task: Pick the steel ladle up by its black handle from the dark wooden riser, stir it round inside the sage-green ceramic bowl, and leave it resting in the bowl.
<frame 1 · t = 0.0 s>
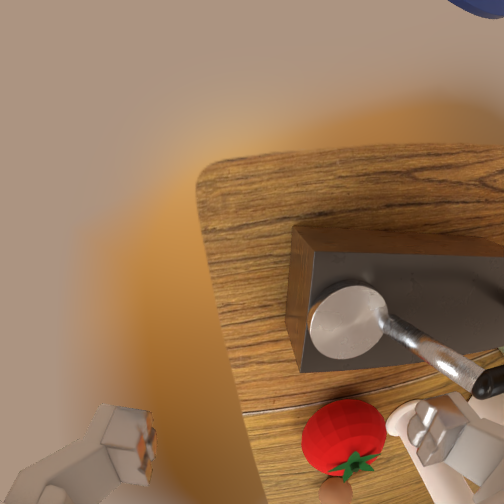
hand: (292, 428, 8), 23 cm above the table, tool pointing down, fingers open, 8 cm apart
beverage can: (480, 396, 39), on the table
candle: (406, 416, 38), on the table
riser: (397, 277, 32), on the table
tomato: (334, 412, 37), on the table
ladle: (345, 317, 23), point 9 cm above the table, touching riser
egg: (331, 478, 42), on the table
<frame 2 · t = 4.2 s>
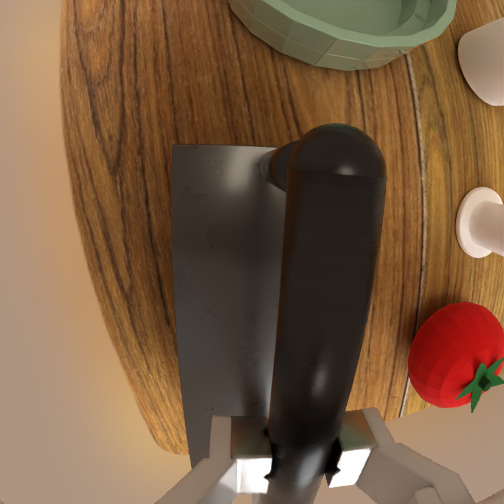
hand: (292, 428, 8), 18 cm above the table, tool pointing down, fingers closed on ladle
beverage can: (481, 69, 22), on the table
candle: (478, 221, 26), on the table
riser: (255, 301, 27), on the table
tomato: (433, 332, 29), on the table
ladle: (256, 455, 20), point 9 cm above the table, touching gripper, riser
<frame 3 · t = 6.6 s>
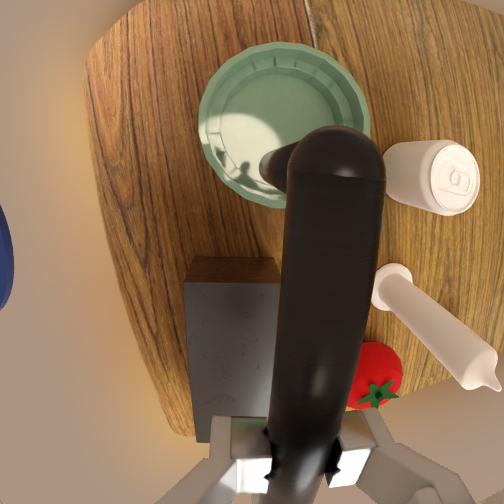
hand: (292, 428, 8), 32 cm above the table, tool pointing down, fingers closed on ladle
beverage can: (402, 172, 39), on the table
candle: (389, 285, 43), on the table
riser: (232, 340, 44), on the table
bowl: (279, 128, 36), on the table
tomato: (357, 358, 46), on the table
ladle: (255, 455, 20), point 23 cm above the table, touching gripper
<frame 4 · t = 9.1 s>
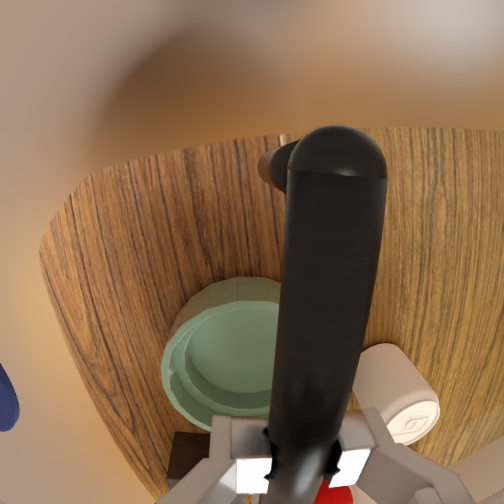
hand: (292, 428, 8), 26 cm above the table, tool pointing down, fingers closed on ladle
beverage can: (374, 365, 39), on the table
candle: (349, 442, 43), on the table
riser: (212, 476, 44), on the table
bowl: (247, 345, 36), on the table
tomato: (318, 483, 46), on the table
ladle: (254, 455, 20), point 17 cm above the table, touching gripper
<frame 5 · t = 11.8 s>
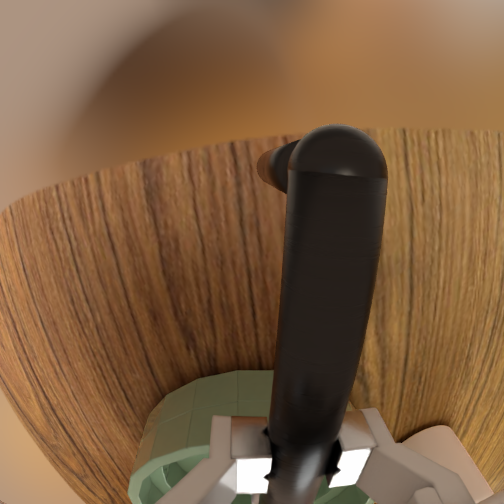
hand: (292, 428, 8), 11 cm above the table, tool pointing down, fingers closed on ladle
beverage can: (416, 447, 25), on the table
bowl: (253, 444, 23), on the table
ladle: (254, 455, 20), point 2 cm above the table, touching gripper
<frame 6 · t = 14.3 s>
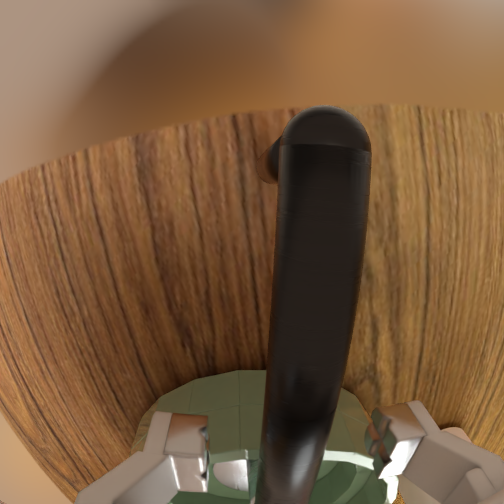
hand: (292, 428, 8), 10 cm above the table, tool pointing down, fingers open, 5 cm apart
beverage can: (426, 450, 23), on the table
bowl: (255, 450, 21), on the table
ladle: (253, 459, 20), point 1 cm above the table, touching bowl
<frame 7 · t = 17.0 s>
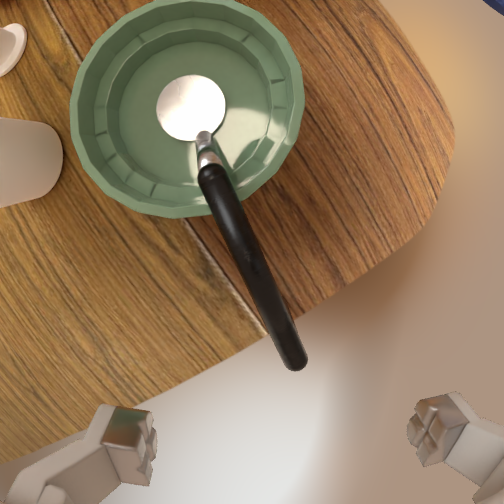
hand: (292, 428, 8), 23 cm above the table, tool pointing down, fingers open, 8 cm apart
beverage can: (37, 160, 27), on the table
candle: (7, 51, 23), on the table
bowl: (192, 111, 27), on the table
ladle: (192, 108, 26), point 1 cm above the table, touching bowl
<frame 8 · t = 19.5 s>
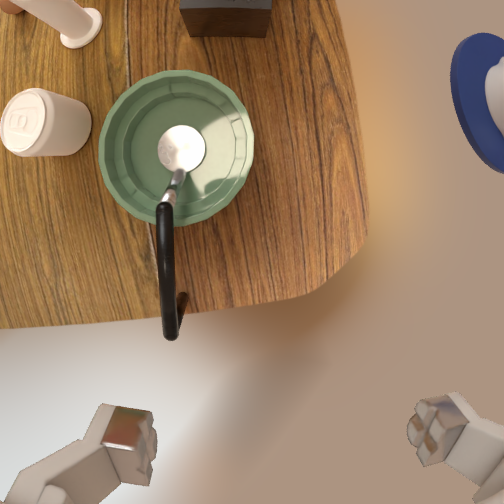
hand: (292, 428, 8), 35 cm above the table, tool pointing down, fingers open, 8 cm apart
beverage can: (70, 127, 37), on the table
candle: (82, 28, 33), on the table
bowl: (182, 149, 39), on the table
ladle: (182, 149, 38), point 1 cm above the table, touching bowl
egg: (25, 5, 30), on the table
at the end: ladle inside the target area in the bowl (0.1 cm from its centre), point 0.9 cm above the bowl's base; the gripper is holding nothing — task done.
